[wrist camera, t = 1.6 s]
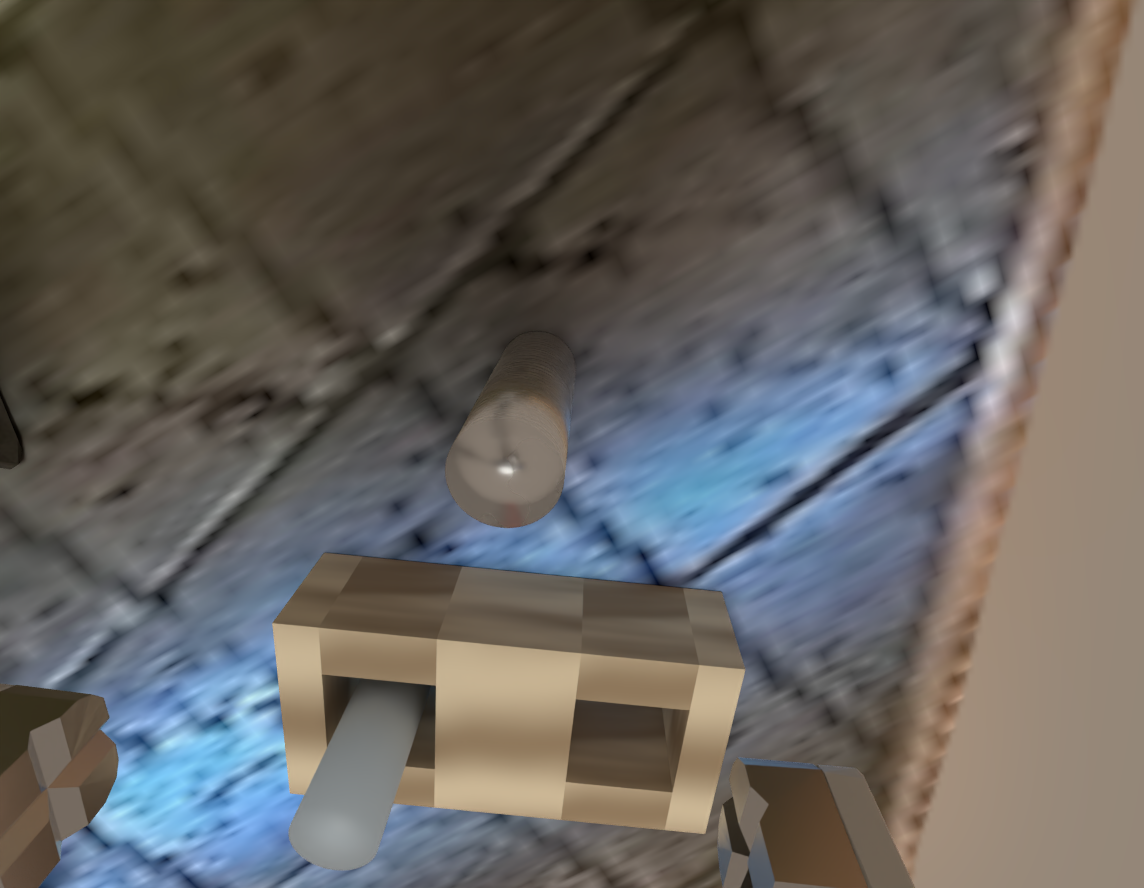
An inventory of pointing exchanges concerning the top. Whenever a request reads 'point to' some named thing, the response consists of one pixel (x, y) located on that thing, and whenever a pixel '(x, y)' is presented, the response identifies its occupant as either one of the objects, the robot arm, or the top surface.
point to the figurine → (8, 442)
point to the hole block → (520, 687)
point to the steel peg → (516, 435)
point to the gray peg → (359, 775)
